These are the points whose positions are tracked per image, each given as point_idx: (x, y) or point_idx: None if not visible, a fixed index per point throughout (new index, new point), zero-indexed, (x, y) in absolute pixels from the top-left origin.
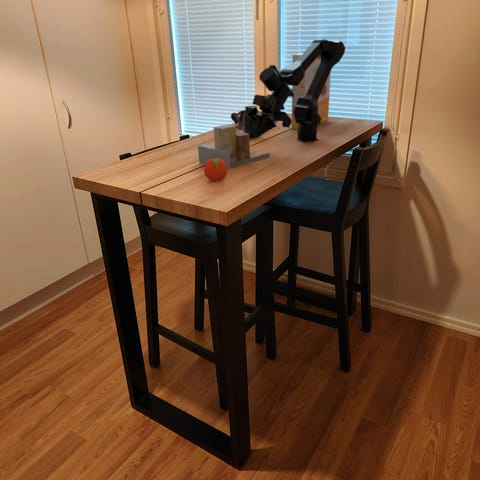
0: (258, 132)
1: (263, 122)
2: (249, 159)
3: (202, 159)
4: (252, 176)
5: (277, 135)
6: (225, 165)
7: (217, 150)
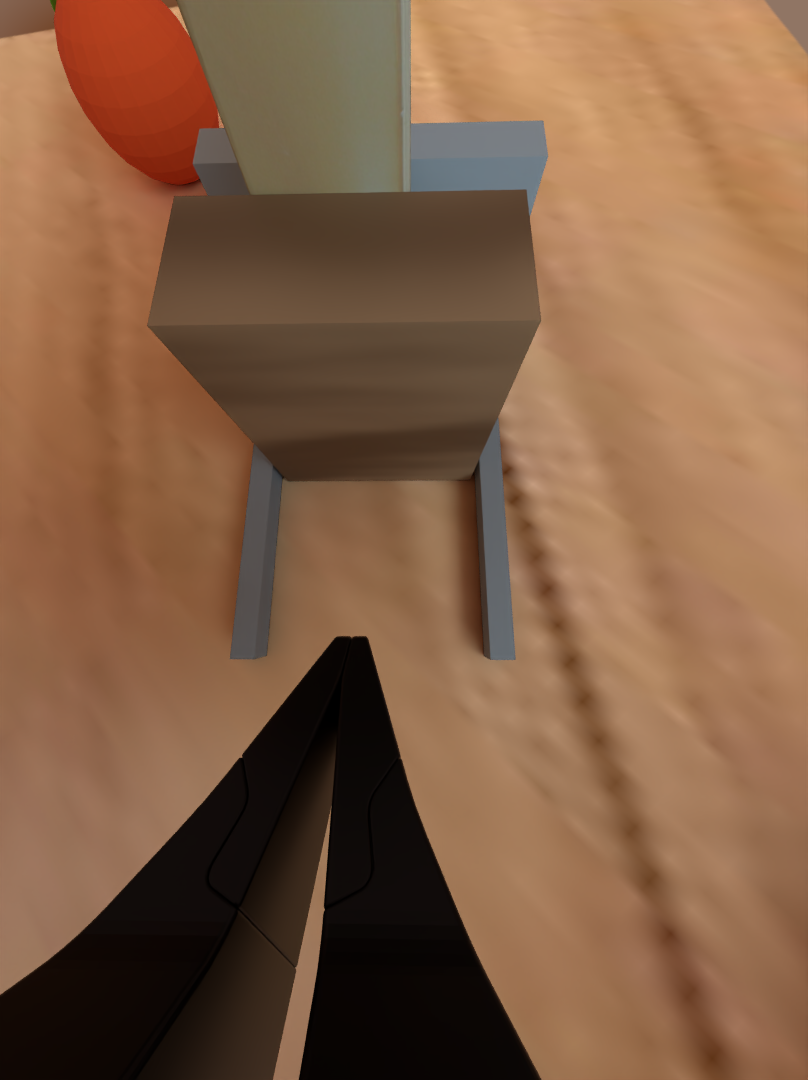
0: (305, 678)
1: (157, 925)
2: (255, 445)
3: None
4: (81, 304)
5: None
6: (66, 70)
7: None
